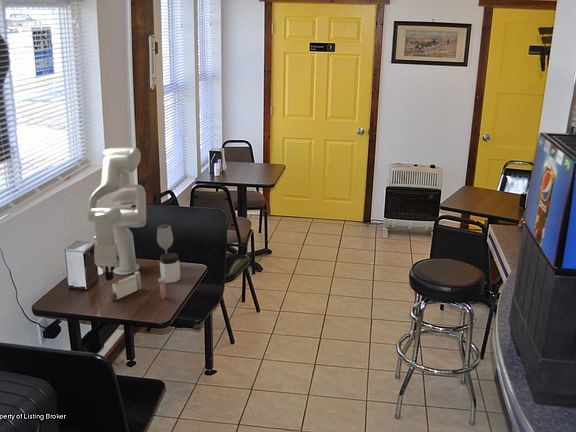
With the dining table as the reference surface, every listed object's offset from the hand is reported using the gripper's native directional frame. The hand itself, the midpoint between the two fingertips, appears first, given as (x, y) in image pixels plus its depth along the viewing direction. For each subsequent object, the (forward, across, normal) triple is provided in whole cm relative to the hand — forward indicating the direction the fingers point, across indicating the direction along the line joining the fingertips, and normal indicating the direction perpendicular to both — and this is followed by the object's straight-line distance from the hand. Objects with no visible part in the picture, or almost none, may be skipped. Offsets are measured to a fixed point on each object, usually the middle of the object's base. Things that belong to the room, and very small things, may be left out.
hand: (109, 279), depth 279 cm
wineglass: (+8, +9, +38) cm, 40 cm away
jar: (+8, +18, +24) cm, 31 cm away
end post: (+8, +23, +4) cm, 25 cm away
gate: (+8, +5, +4) cm, 11 cm away
